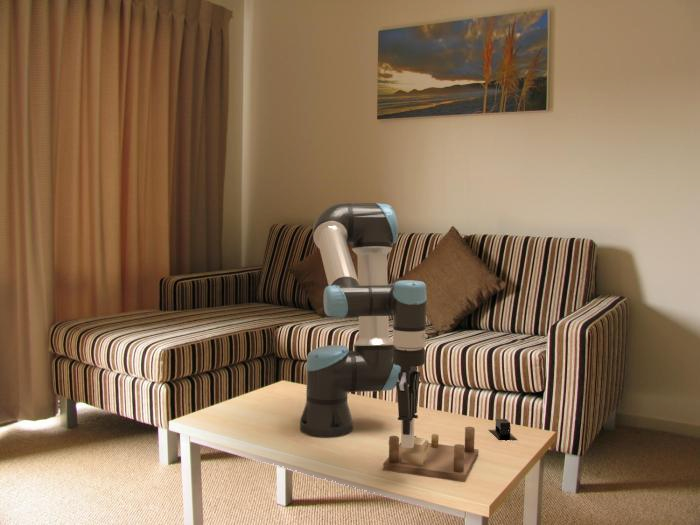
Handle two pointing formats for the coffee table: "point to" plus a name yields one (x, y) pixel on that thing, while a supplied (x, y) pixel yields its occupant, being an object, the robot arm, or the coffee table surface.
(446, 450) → the stool board
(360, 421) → the coffee table surface
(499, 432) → the black bracket plate
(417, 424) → the coffee table surface
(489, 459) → the coffee table surface
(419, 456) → the maple block
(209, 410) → the coffee table surface
